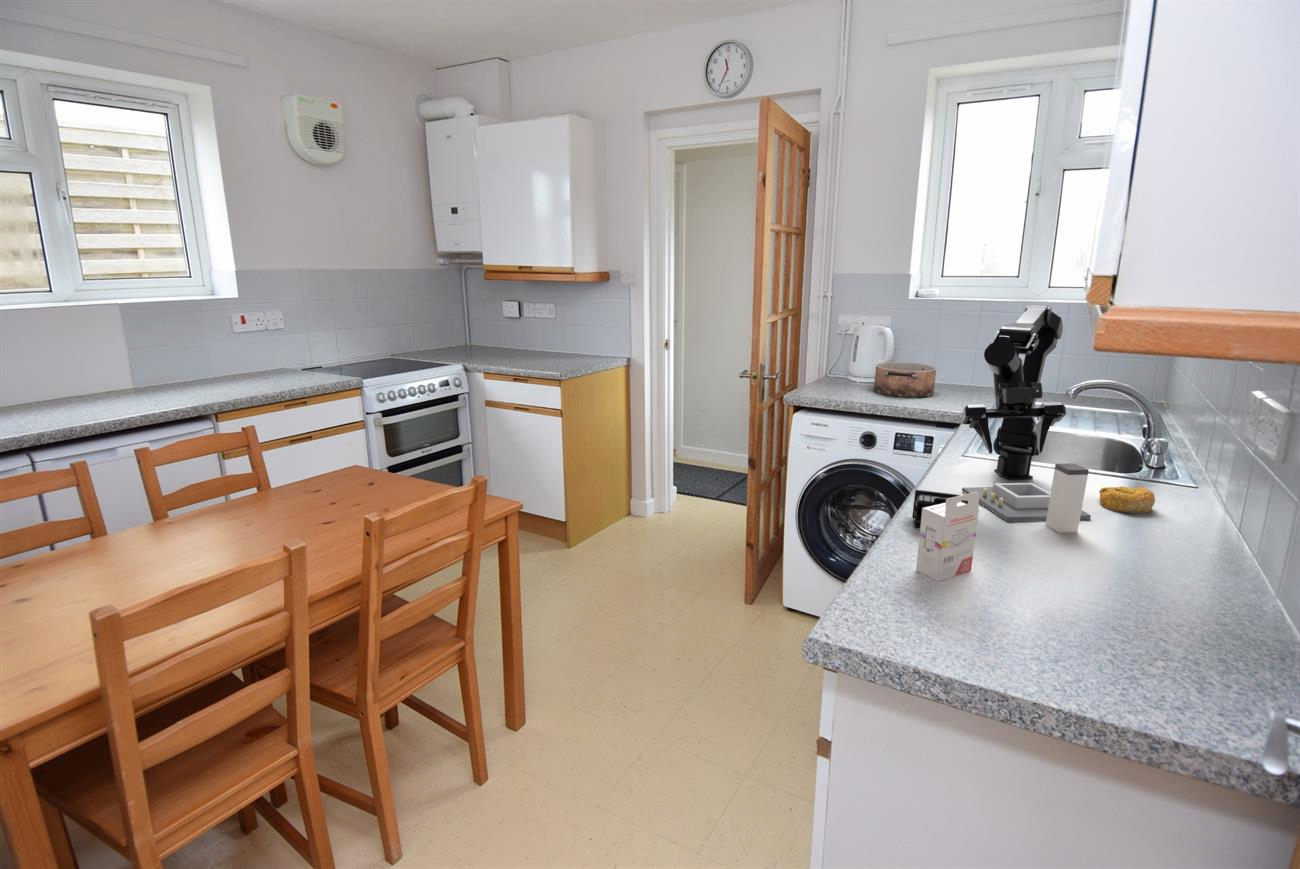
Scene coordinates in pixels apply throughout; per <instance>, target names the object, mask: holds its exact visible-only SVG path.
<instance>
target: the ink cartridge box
mask: <svg viewBox="0 0 1300 869" xmlns="http://www.w3.org/2000/svg"><path fill="white" fill-rule="evenodd" d="M959 495H960V496H956V497H952V498H948V499H946V503H942V504H938V505H934V506H929V507H925V508H922V516H921V526H920V529H919V537H918V538H919V540H918V548H917V558H916V565H915V567H916V568H915V570H916V571H917V572H918V573H920V574H922V575H925V576H926V577H929V578H930V579H932V580H935V581H937V582H941V581H944V580H947V579H950V578H953V577H956V576H960V575H962V574H966V573H969V572H970V571H971V570H972V566H973V558H974V557H973V556H974V551H975V545H976V544H975V543H976V536H977V529H978V520H979V515H980V514H979V512H980V509H979V507H980V503H979V492H974V493H970V494H965V493H964V494H959ZM962 500H964V501H968V504H965V503H962V502H961V501H962Z"/></svg>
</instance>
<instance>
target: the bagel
mask: <svg viewBox="0 0 1300 869" xmlns="http://www.w3.org/2000/svg"><path fill="white" fill-rule="evenodd" d="M1098 493H1099V500H1100V504H1101V505H1102V506H1103V508H1105V509H1108V510H1109V509H1110V510H1113V511H1115V512H1121V513H1130V514H1147V513H1148V512H1150V511H1151V510H1152V509H1153V507H1154V505H1155V502H1156V498H1155V494H1154V492H1153V491H1150V489H1148V488H1144V487H1141V486H1140V487H1134V488H1132V487H1127V486H1114V487H1113V486H1110V487H1101V488H1100V489H1099V492H1098Z"/></svg>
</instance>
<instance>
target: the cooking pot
mask: <svg viewBox="0 0 1300 869" xmlns="http://www.w3.org/2000/svg"><path fill="white" fill-rule="evenodd" d="M936 374H937V367H936V366H933V365H929V364H924V363H918V362H905V361H904V362H901V361H898V362H895V361H894V362H893V361H891V362H889V361H888V362H881V363H877V364H876V365H875V375H874V383H873V386H874V387H873V391H874V393H876V394H878V395H880V396H886V397H891V398H898V399H899V398H900V399H925V398H930V397H932V396H934V392H935V382H936V376H937V375H936Z"/></svg>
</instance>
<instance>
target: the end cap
mask: <svg viewBox="0 0 1300 869" xmlns="http://www.w3.org/2000/svg"><path fill="white" fill-rule="evenodd" d="M960 495H961V494H956V493H949V492H940V491H939V492H938V491H931V490H923V489H915V491H914V496H913V505H912V507H913V508H912V518H913V519H914V520H913V521H914V522H913V528H914V527H915V528H914V529H917V528H920V526H921V516H922V508H925V507H929V506H934V505H938V504H942V503H946V499H948V498H952V497H956V496H960ZM961 502H962V503H965V504H968V501H964V500H962V501H961Z"/></svg>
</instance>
